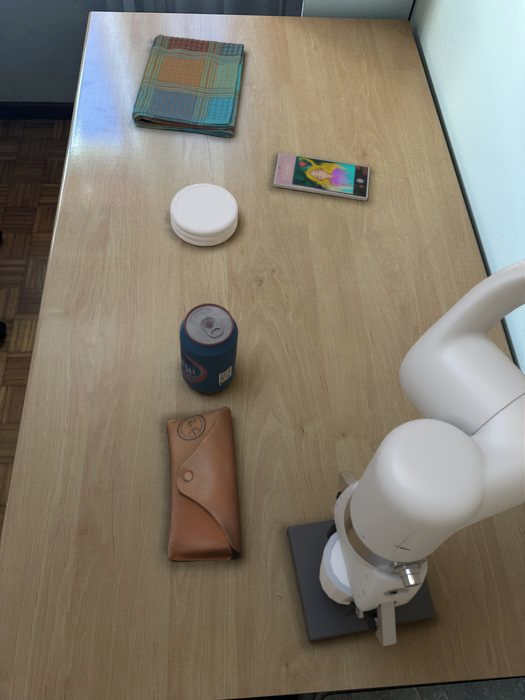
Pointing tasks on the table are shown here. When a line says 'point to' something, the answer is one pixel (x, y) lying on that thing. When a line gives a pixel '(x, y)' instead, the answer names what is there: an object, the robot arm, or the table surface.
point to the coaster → (204, 214)
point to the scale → (317, 607)
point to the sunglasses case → (203, 488)
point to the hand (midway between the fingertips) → (350, 571)
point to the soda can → (208, 347)
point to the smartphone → (322, 176)
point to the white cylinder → (335, 573)
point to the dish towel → (190, 86)
